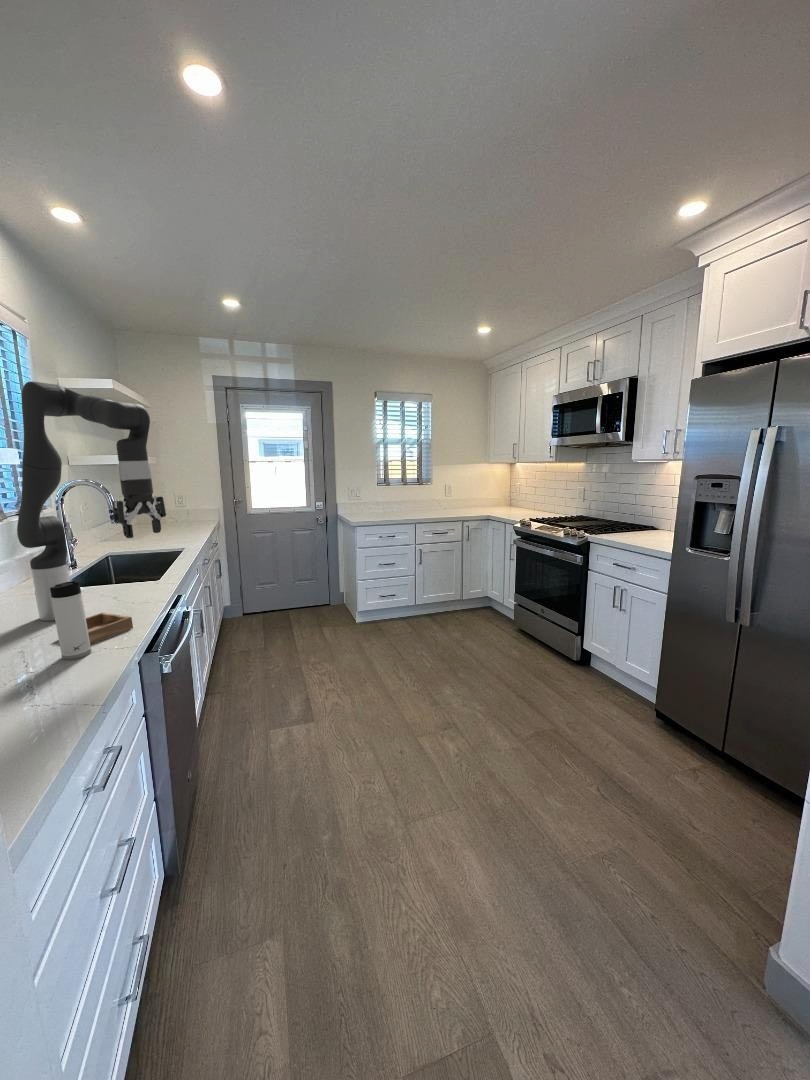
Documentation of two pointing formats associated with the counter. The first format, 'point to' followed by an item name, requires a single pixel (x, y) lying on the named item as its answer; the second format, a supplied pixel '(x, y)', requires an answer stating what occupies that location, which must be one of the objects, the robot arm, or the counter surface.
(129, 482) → the robot arm
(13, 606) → the counter surface
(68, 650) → the travel mug
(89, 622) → the walnut caddy
